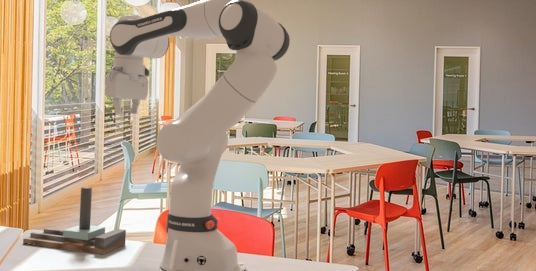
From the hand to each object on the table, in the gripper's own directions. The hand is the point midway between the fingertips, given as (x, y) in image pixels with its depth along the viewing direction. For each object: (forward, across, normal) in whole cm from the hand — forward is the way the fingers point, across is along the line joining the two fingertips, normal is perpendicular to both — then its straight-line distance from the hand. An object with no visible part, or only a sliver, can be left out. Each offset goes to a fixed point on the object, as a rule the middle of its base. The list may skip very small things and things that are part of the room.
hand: (126, 113), depth 167 cm
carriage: (+36, -12, +5) cm, 38 cm away
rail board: (+39, -12, +8) cm, 42 cm away
